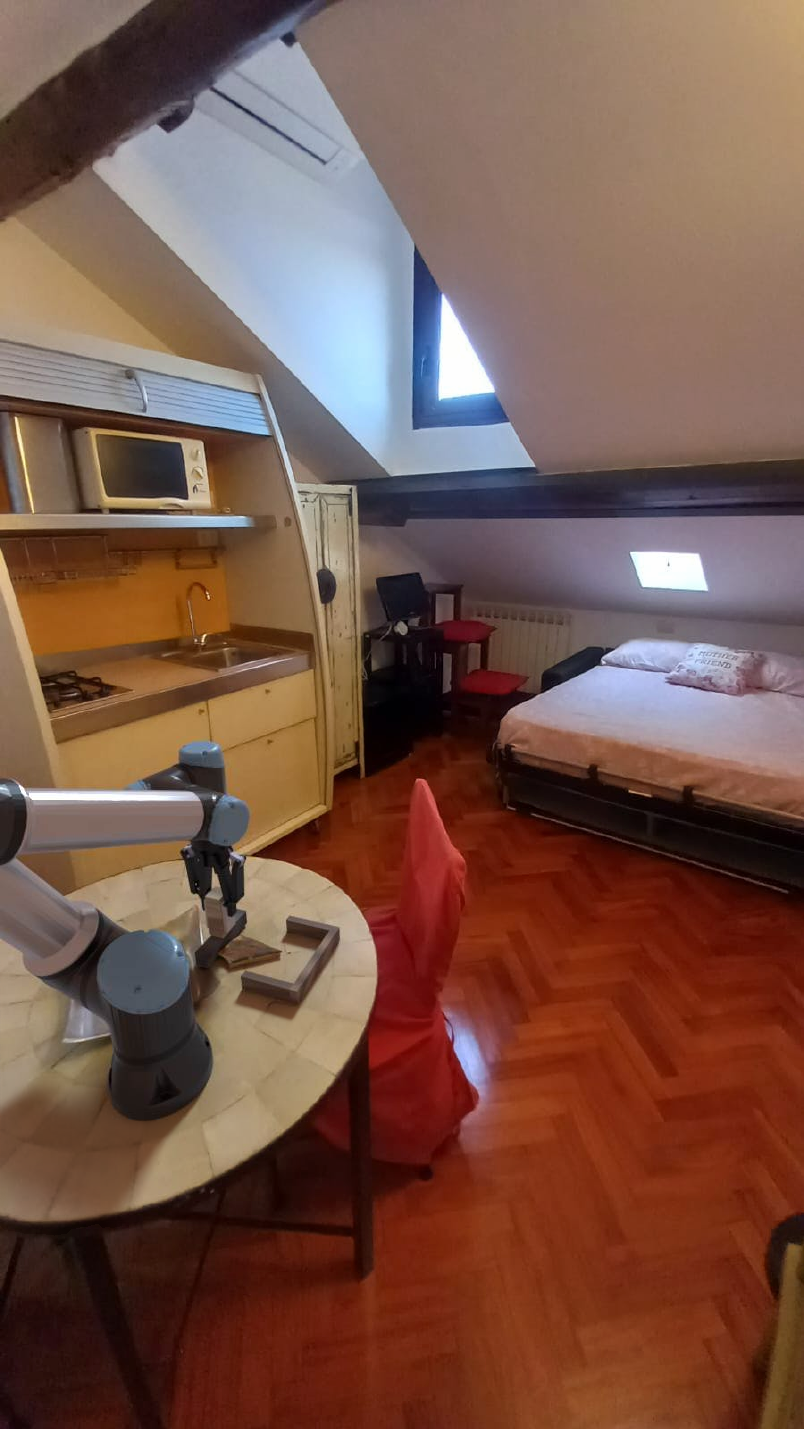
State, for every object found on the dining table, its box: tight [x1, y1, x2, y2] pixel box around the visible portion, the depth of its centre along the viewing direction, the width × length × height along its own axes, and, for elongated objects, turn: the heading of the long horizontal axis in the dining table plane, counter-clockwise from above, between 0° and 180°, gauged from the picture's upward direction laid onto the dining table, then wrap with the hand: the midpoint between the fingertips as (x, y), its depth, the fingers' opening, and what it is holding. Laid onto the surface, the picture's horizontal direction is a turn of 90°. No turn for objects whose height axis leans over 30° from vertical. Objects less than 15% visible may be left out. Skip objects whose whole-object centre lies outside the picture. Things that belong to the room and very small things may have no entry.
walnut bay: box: [240, 915, 341, 1006], centre depth 115 cm, size 18×12×3 cm, turn 161°
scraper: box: [194, 886, 248, 969], centre depth 118 cm, size 14×3×12 cm, turn 161°
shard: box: [218, 935, 283, 969], centre depth 117 cm, size 11×8×2 cm
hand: (221, 925), depth 119 cm, fingers closed on scraper, 3 cm apart
